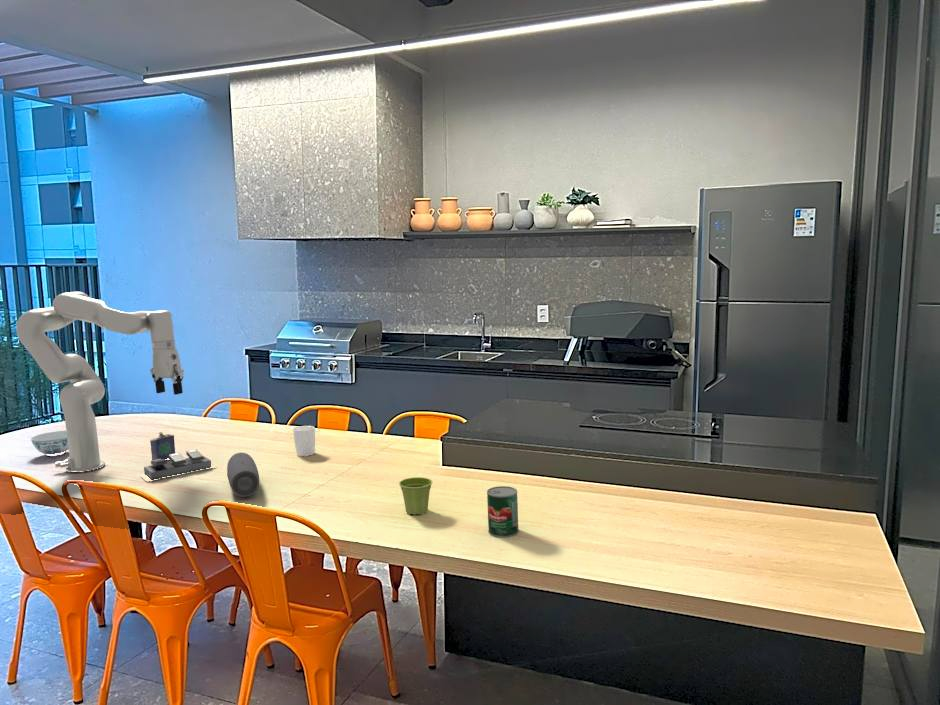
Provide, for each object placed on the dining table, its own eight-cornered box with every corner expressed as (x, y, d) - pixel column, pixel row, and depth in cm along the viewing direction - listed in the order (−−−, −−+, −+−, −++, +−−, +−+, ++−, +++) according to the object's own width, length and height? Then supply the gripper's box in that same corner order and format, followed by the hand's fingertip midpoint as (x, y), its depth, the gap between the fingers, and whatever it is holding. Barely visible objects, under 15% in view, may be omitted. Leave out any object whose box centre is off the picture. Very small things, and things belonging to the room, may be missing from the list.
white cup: (313, 456, 263) (311, 430, 261) (292, 457, 263) (290, 431, 261) (318, 451, 270) (317, 425, 269) (298, 451, 271) (296, 425, 269)
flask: (154, 464, 260) (152, 435, 259) (150, 463, 262) (147, 434, 260) (177, 458, 268) (174, 430, 266) (172, 457, 269) (170, 429, 268)
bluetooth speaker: (227, 482, 236) (224, 452, 235) (256, 477, 240) (253, 449, 238) (230, 503, 215) (227, 471, 214) (262, 498, 219) (259, 467, 217)
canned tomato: (517, 525, 190) (516, 485, 188) (520, 536, 182) (519, 495, 181) (487, 526, 190) (486, 486, 188) (489, 538, 182) (487, 496, 180)
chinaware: (63, 459, 271) (61, 439, 270) (24, 460, 271) (22, 441, 270) (85, 448, 286) (83, 430, 285) (48, 450, 286) (46, 431, 285)
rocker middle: (175, 464, 245) (175, 461, 245) (168, 457, 251) (168, 454, 250) (185, 462, 248) (185, 459, 247) (179, 455, 253) (179, 452, 252)
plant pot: (416, 503, 209) (415, 475, 208) (440, 510, 203) (439, 480, 202) (393, 513, 202) (392, 483, 201) (417, 520, 196) (416, 489, 195)
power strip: (147, 482, 238) (146, 472, 238) (139, 475, 247) (138, 466, 246) (216, 467, 253) (215, 458, 252) (206, 461, 261) (206, 452, 260)
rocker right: (192, 461, 249) (192, 457, 249) (186, 454, 254) (186, 451, 254) (203, 459, 251) (203, 455, 251) (196, 452, 256) (196, 449, 256)
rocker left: (156, 465, 242) (156, 461, 242) (151, 464, 247) (150, 460, 247) (167, 463, 244) (167, 459, 244) (162, 462, 249) (161, 458, 249)
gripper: (188, 344, 250) (194, 392, 253) (157, 343, 259) (163, 390, 262) (170, 347, 244) (176, 396, 246) (138, 346, 253) (145, 394, 255)
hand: (169, 393), depth 254 cm, fingers open, 9 cm apart
